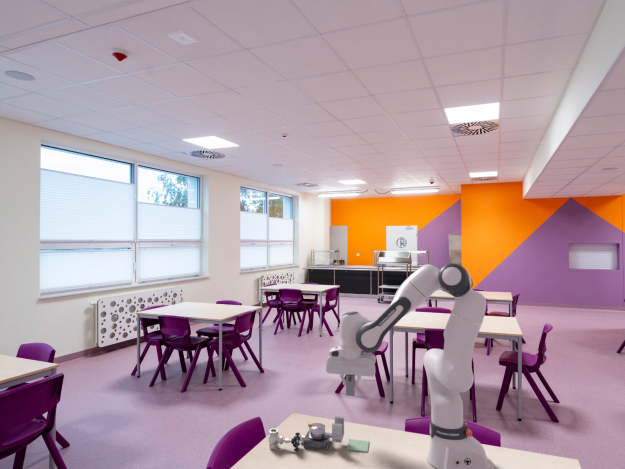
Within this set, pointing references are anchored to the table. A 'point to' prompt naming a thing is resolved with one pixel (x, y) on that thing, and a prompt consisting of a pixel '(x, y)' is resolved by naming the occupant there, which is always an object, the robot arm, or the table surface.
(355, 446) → the felt pad
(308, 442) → the block
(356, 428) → the table surface
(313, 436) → the silver rounded housing
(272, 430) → the valve
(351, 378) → the grey tabbed block
